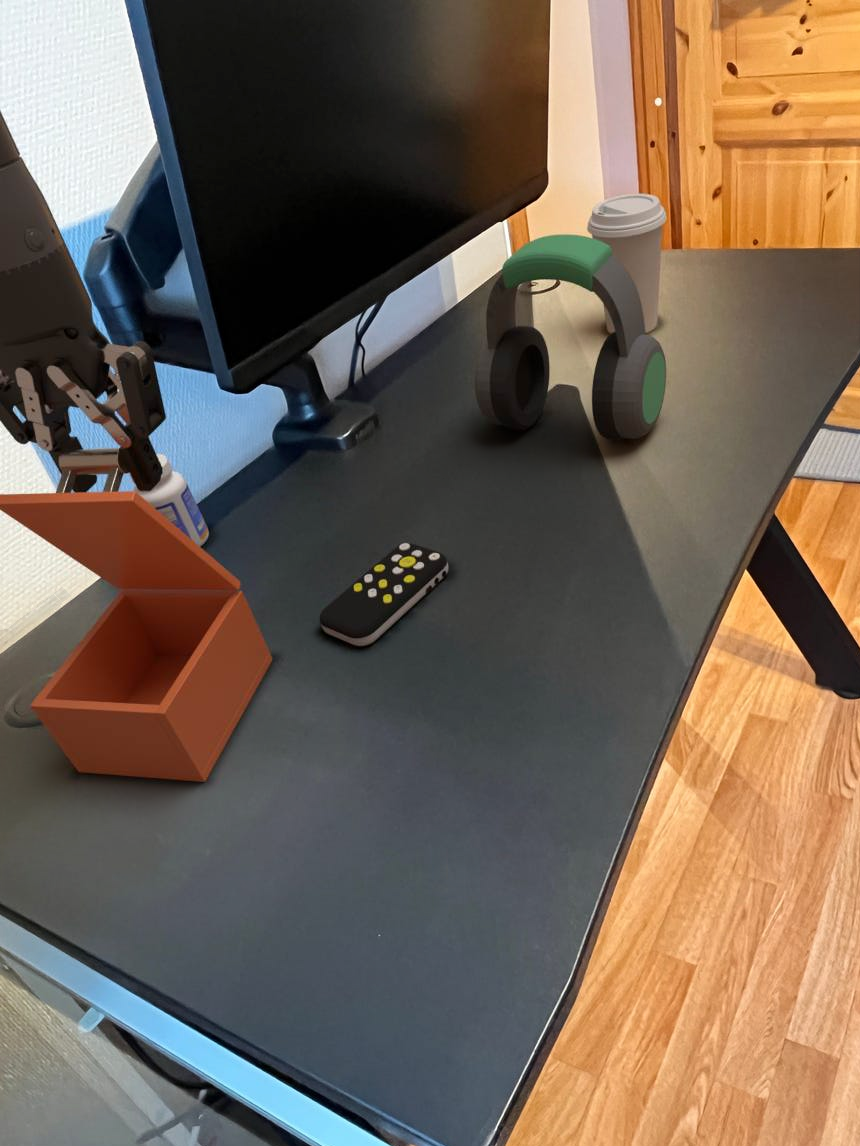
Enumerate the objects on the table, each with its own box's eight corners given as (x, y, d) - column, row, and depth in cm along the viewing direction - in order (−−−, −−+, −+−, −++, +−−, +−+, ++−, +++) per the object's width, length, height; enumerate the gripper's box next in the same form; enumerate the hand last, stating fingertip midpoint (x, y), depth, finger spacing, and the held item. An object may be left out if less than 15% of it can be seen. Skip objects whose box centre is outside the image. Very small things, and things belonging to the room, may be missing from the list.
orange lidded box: (205, 782, 67) (163, 713, 62) (78, 772, 70) (29, 705, 65) (273, 659, 76) (242, 590, 71) (159, 655, 79) (121, 589, 74)
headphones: (672, 410, 96) (668, 221, 83) (638, 462, 90) (627, 265, 77) (519, 397, 105) (493, 223, 92) (477, 444, 98) (443, 263, 85)
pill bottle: (189, 523, 96) (152, 445, 90) (220, 534, 93) (184, 454, 87) (150, 550, 93) (109, 472, 87) (181, 562, 90) (142, 483, 84)
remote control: (316, 631, 78) (310, 615, 77) (407, 552, 85) (402, 536, 83) (366, 653, 75) (360, 636, 73) (456, 569, 81) (452, 552, 80)
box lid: (132, 501, 58) (152, 431, 60) (-10, 504, 61) (14, 438, 63) (239, 590, 71) (253, 531, 73) (118, 589, 74) (134, 532, 76)
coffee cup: (589, 319, 118) (578, 202, 108) (658, 305, 118) (654, 185, 108) (604, 348, 111) (594, 224, 101) (678, 332, 111) (675, 207, 101)
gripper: (129, 220, 55) (225, 458, 66) (-51, 242, 59) (67, 463, 70) (62, 262, 49) (178, 513, 60) (-131, 284, 53) (10, 516, 64)
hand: (118, 485), depth 65 cm, fingers closed on box lid, 5 cm apart
